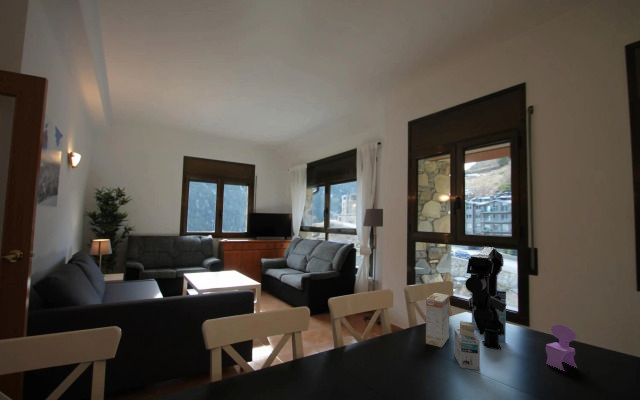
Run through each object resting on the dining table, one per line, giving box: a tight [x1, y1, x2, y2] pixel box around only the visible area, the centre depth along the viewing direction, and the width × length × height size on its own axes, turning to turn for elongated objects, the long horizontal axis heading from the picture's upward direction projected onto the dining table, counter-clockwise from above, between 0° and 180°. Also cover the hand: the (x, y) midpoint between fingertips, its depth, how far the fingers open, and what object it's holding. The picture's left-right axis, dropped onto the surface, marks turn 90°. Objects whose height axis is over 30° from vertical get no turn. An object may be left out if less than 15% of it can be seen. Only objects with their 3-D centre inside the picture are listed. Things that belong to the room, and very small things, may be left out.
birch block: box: [459, 320, 475, 337], centre depth 114 cm, size 4×4×4 cm
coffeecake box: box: [425, 292, 450, 348], centre depth 134 cm, size 15×7×20 cm, turn 144°
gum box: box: [471, 287, 507, 343], centre depth 144 cm, size 20×5×23 cm, turn 4°
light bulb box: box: [454, 328, 481, 371], centre depth 113 cm, size 11×7×11 cm, turn 169°
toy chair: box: [545, 324, 578, 372], centre depth 113 cm, size 8×9×15 cm
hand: (480, 330), depth 112 cm, fingers open, 9 cm apart
